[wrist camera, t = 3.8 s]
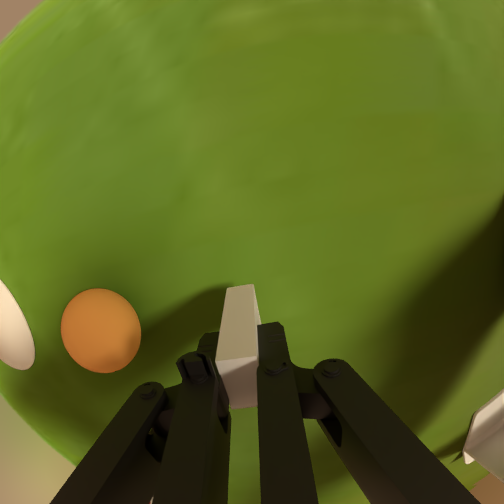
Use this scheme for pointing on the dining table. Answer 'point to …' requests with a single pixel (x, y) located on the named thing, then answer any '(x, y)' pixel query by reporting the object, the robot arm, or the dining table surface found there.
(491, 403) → the tablet stand
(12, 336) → the disc
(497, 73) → the dining table surface
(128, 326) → the ball
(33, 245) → the dining table surface
